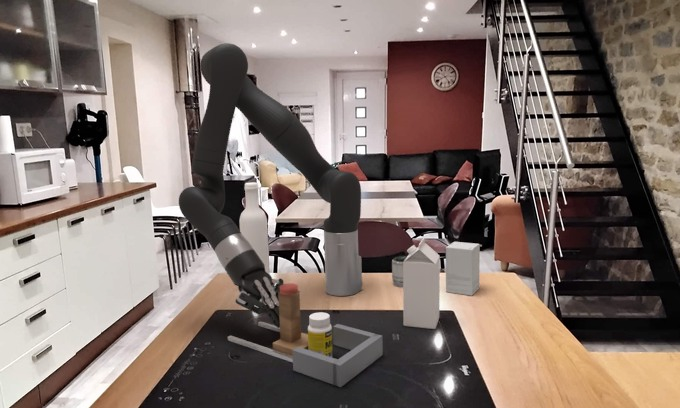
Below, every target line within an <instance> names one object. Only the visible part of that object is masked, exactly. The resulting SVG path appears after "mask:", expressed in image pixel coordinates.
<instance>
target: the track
mask: <svg viewBox="0 0 680 408" xmlns="http://www.w3.org/2000/svg"><path fill="white" fill-rule="evenodd" d="M257 326H258V327H261V328H264V329H268V330H270V331H274V332H277V333H280V328H277V326H275V325H274V324H271V323H268V322H264V321H258V322H257ZM227 341H229V342H231V343H234V344H237V345H240V346H243V347H247V348H249V349H251V350H254V351H258V352H260V353H264V354H266V355H269V356H272V357H275V358H278V359H281V360H284V361H286V362H290V363H292V364H293V356H290V355H288V354H285V353H282V352H279V351H276V350H273V348H269V347H266V346H263V345H260V344H258V343H254V342H251V341H250V340H249V341H247V340H245V339H243V338H239V337H236V336H233V335H229V336H227Z"/></svg>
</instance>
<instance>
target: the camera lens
mask: <svg viewBox="0 0 680 408" xmlns="http://www.w3.org/2000/svg"><path fill="white" fill-rule="evenodd" d="M407 256H408V255H398V256H395V257H393V259H392V260H391V270H392V271H391V276H392V284H393V286H395V287H399V288H403V262H404V260H405V259H406V258H407Z"/></svg>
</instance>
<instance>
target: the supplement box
mask: <svg viewBox="0 0 680 408" xmlns="http://www.w3.org/2000/svg"><path fill="white" fill-rule="evenodd" d="M480 251H481V250H480V243H473V242H462V241H461V242H460V241H453V242H451V243H450V244H449V245H447V246H446V247H445V292H446V293H452V294H458V295H464V296H471V297H472V296H473V295H475V293H476V292H477V291H478V290H479V289H480V264H481V263H480Z"/></svg>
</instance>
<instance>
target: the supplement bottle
mask: <svg viewBox="0 0 680 408" xmlns="http://www.w3.org/2000/svg"><path fill="white" fill-rule="evenodd" d="M308 318H309V320H308V323H309V325H307V334H308V350H310V351H313V352H316V353H319V354H322V355H325V356H329V357H332V358H333V326H332V324H331V317H330V314H329V313H327V312H322V311H321V312H320V311H319V312H314V313H311V314H310V315H309V316H308Z"/></svg>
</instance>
